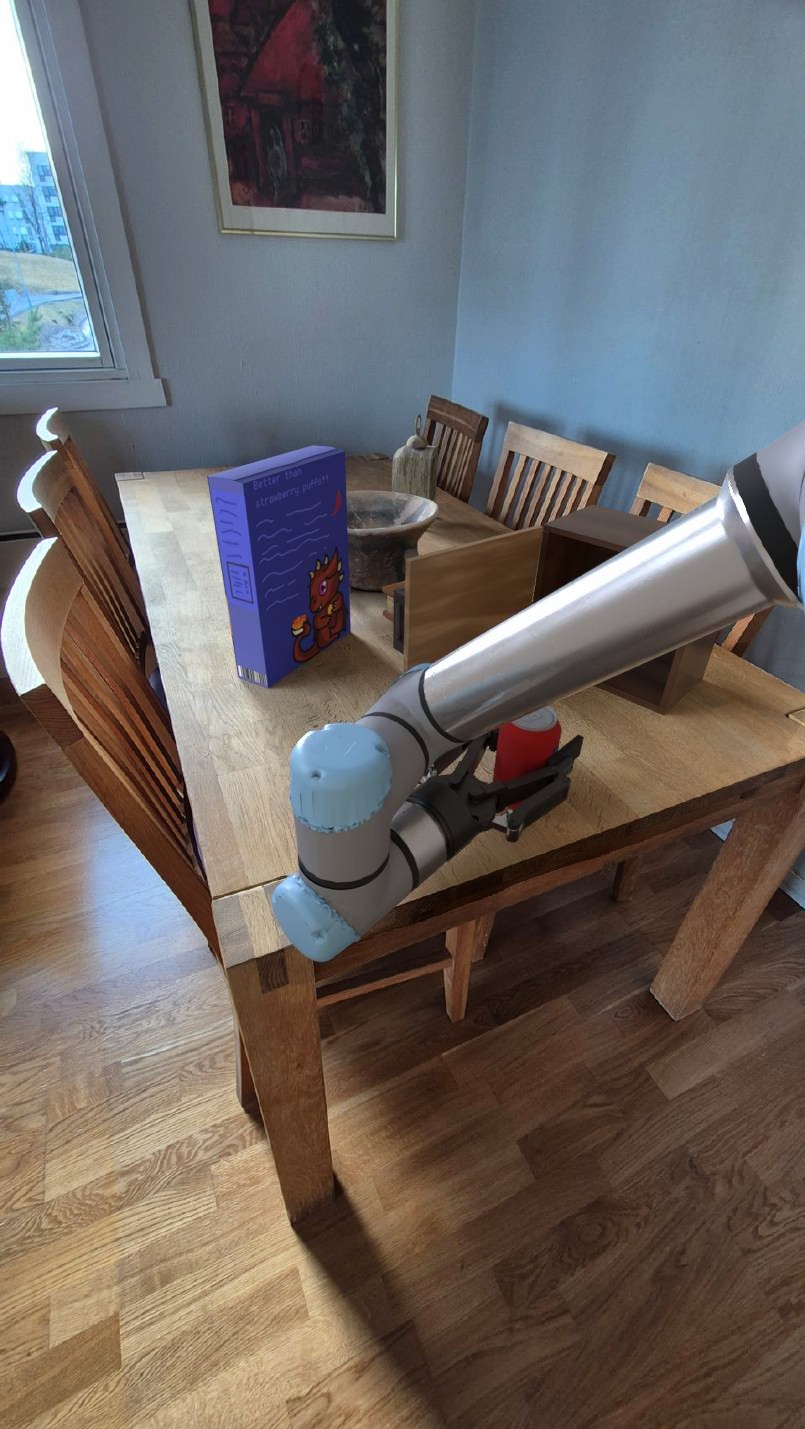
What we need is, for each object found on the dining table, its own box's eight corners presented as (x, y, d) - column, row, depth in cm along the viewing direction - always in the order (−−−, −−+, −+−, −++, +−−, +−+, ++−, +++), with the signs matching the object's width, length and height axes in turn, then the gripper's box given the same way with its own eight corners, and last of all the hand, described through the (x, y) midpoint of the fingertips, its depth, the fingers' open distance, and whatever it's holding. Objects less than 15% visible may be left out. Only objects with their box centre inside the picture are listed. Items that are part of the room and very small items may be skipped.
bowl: (328, 550, 141) (325, 482, 132) (445, 561, 137) (449, 491, 128) (287, 599, 119) (280, 521, 111) (424, 613, 115) (427, 533, 107)
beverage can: (559, 804, 74) (577, 721, 67) (513, 823, 71) (527, 739, 64) (523, 771, 79) (537, 691, 72) (479, 788, 76) (489, 706, 69)
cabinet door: (381, 686, 94) (381, 546, 82) (497, 643, 106) (512, 515, 94) (406, 705, 90) (410, 561, 78) (523, 658, 102) (543, 526, 90)
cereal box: (323, 623, 111) (312, 443, 94) (350, 631, 109) (344, 449, 92) (238, 677, 96) (206, 474, 79) (268, 688, 94) (242, 481, 76)
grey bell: (427, 532, 153) (431, 421, 138) (390, 529, 154) (391, 419, 140) (435, 514, 164) (440, 410, 150) (401, 512, 166) (403, 408, 151)
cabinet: (663, 715, 90) (709, 569, 77) (524, 656, 103) (543, 523, 90) (702, 679, 98) (749, 542, 85) (568, 629, 111) (592, 504, 99)
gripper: (351, 810, 68) (481, 723, 81) (500, 917, 57) (620, 794, 71) (349, 756, 63) (486, 673, 77) (509, 860, 52) (636, 741, 66)
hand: (550, 731), depth 74 cm, fingers closed on beverage can, 7 cm apart
